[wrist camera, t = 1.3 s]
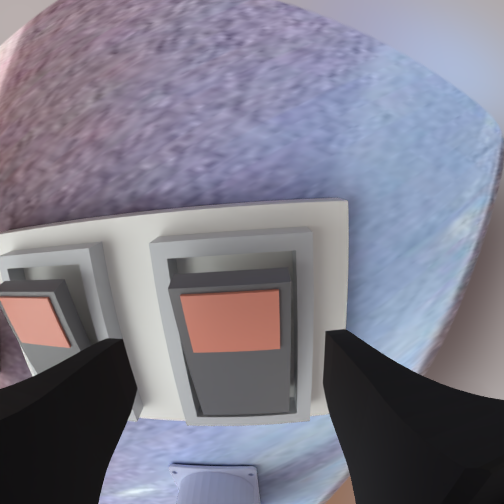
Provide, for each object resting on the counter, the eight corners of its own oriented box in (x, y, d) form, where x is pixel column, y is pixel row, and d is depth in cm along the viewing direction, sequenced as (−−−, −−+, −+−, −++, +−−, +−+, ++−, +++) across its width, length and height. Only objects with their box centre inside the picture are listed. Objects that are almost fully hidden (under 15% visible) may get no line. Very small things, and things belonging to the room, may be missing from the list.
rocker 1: (117, 394, 18) (112, 410, 16) (60, 386, 18) (53, 400, 16) (64, 278, 14) (52, 293, 12) (4, 280, 14) (-8, 293, 13)
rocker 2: (287, 396, 17) (289, 413, 16) (205, 399, 18) (203, 416, 16) (287, 267, 13) (291, 283, 12) (173, 274, 14) (166, 290, 12)
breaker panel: (331, 395, 21) (342, 428, 17) (55, 389, 21) (36, 413, 18) (337, 197, 17) (358, 203, 14) (7, 230, 18) (-25, 241, 14)
